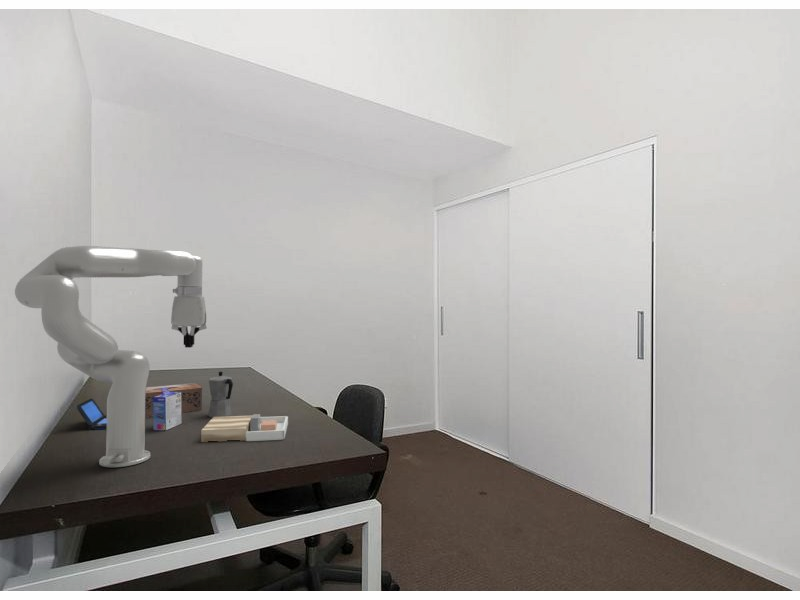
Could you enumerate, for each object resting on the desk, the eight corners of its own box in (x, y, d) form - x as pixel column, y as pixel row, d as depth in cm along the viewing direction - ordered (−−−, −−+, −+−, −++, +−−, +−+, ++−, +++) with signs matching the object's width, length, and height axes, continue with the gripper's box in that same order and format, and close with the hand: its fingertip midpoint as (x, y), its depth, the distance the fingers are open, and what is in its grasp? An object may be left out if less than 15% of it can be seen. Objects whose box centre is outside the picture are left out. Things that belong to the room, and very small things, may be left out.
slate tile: (250, 432, 156) (257, 432, 156) (250, 418, 156) (258, 418, 156) (252, 428, 162) (260, 427, 162) (253, 414, 162) (260, 414, 162)
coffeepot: (200, 414, 185) (201, 371, 185) (222, 410, 192) (222, 368, 192) (220, 421, 175) (220, 374, 175) (242, 416, 182) (242, 372, 183)
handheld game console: (117, 429, 163) (117, 403, 164) (74, 432, 159) (75, 405, 160) (129, 418, 178) (130, 395, 178) (90, 421, 174) (91, 397, 175)
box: (284, 439, 151) (284, 430, 151) (246, 441, 149) (246, 432, 149) (287, 423, 171) (287, 416, 171) (254, 425, 169) (254, 417, 169)
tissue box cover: (194, 405, 204) (194, 383, 204) (201, 411, 193) (202, 387, 193) (128, 412, 189) (129, 388, 189) (132, 419, 177) (132, 394, 178)
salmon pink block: (260, 425, 157) (260, 432, 157) (275, 424, 158) (275, 431, 158) (262, 420, 163) (262, 427, 163) (276, 420, 163) (276, 427, 163)
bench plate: (245, 440, 150) (245, 428, 150) (201, 442, 147) (201, 430, 147) (253, 426, 168) (253, 415, 168) (213, 427, 165) (213, 416, 165)
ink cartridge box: (168, 423, 171) (169, 385, 171) (182, 423, 170) (182, 385, 171) (151, 430, 161) (152, 390, 161) (166, 430, 161) (166, 390, 161)
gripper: (161, 291, 145) (161, 348, 145) (210, 292, 148) (209, 348, 148) (169, 292, 153) (168, 346, 152) (215, 293, 155) (215, 346, 155)
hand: (188, 347), depth 150 cm, fingers closed
